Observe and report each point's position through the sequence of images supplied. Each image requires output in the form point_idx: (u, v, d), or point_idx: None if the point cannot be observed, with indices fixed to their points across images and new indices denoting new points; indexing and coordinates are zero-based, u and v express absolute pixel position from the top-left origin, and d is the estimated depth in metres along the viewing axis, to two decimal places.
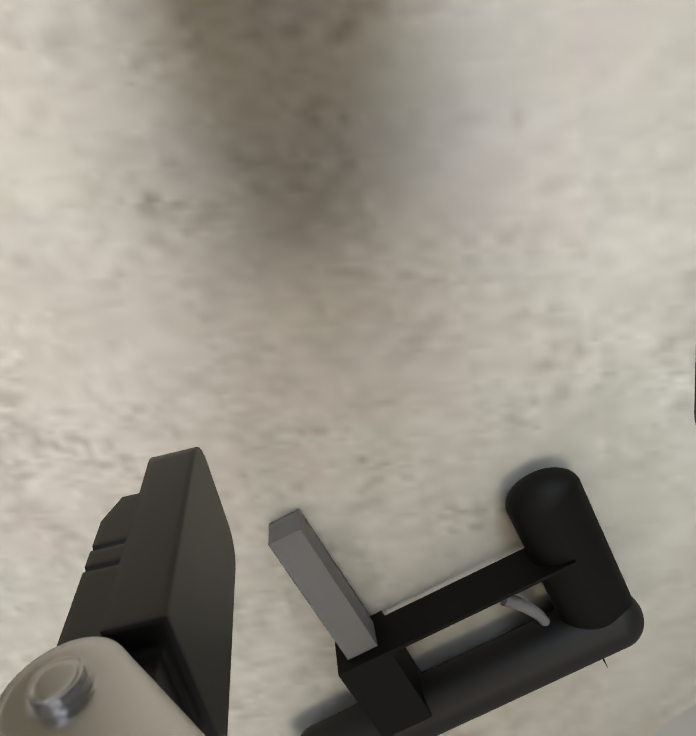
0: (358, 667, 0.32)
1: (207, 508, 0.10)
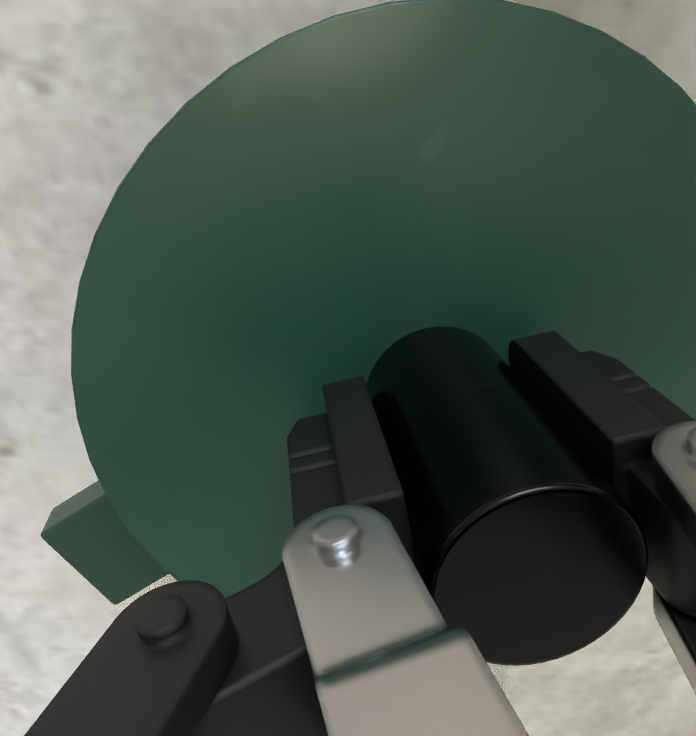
0: None
1: None
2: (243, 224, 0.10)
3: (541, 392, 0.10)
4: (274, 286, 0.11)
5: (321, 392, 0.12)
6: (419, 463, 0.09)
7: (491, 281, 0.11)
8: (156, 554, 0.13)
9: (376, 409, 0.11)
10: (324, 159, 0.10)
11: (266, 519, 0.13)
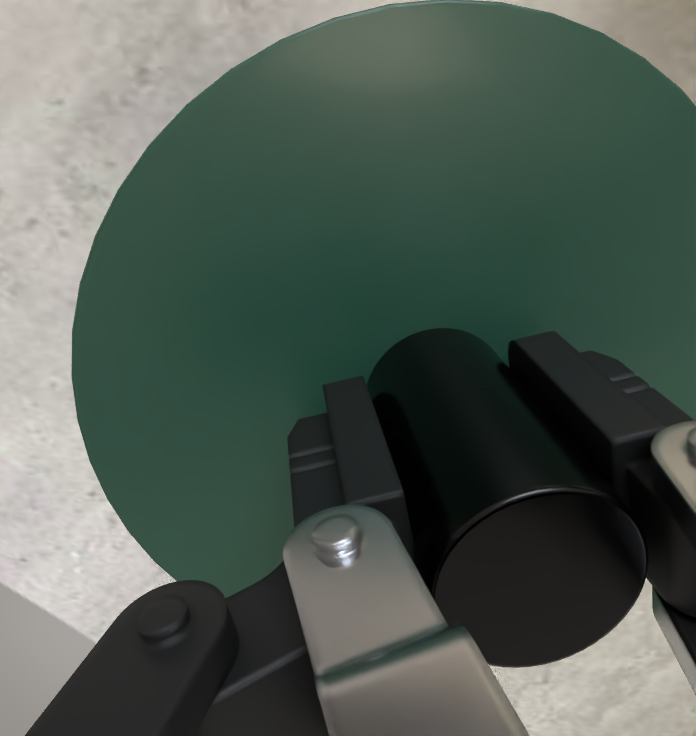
0: None
1: None
2: (243, 225, 0.10)
3: (541, 393, 0.10)
4: (274, 288, 0.11)
5: (321, 394, 0.12)
6: (419, 464, 0.09)
7: (491, 283, 0.11)
8: (156, 556, 0.13)
9: (376, 411, 0.11)
10: (324, 161, 0.10)
11: (266, 520, 0.13)
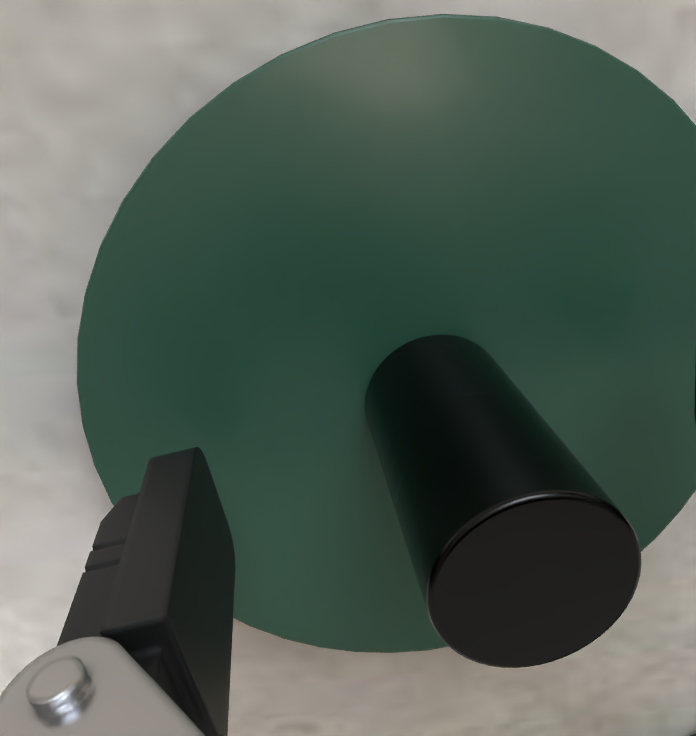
0: None
1: (207, 508, 0.10)
2: (245, 235, 0.11)
3: None
4: (276, 296, 0.11)
5: (322, 399, 0.12)
6: (418, 470, 0.09)
7: (488, 290, 0.12)
8: None
9: (376, 416, 0.11)
10: (324, 172, 0.10)
11: (268, 524, 0.13)
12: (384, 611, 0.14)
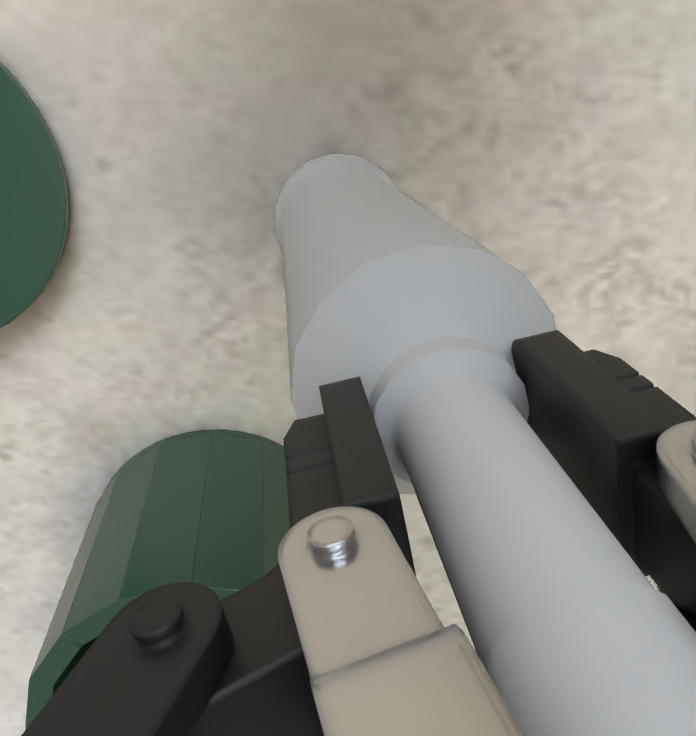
0: None
1: None
2: None
3: (545, 392, 0.10)
4: None
5: None
6: None
7: None
8: None
9: None
10: None
11: None
12: None
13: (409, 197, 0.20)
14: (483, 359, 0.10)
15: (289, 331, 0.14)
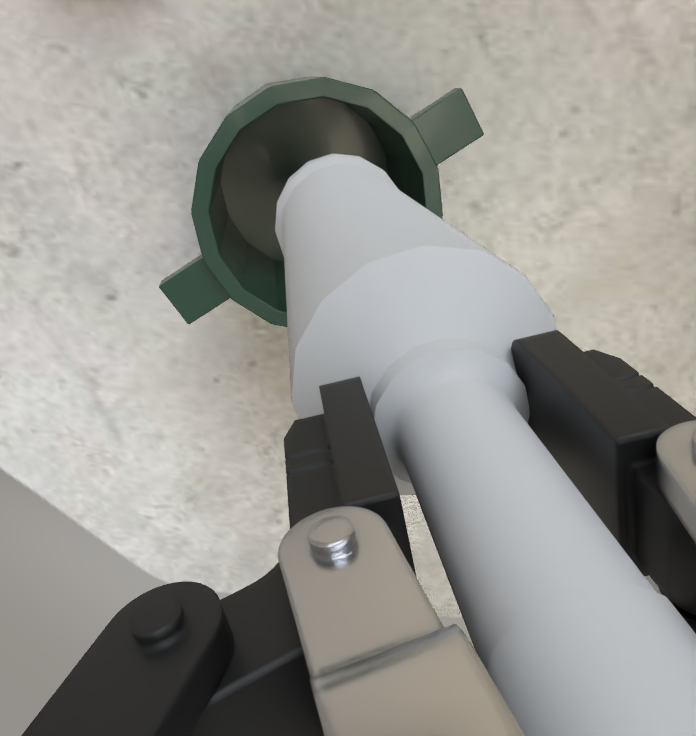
0: None
1: None
2: None
3: (544, 392, 0.10)
4: None
5: None
6: None
7: None
8: None
9: None
10: None
11: None
12: None
13: None
14: (484, 361, 0.10)
15: (289, 332, 0.14)
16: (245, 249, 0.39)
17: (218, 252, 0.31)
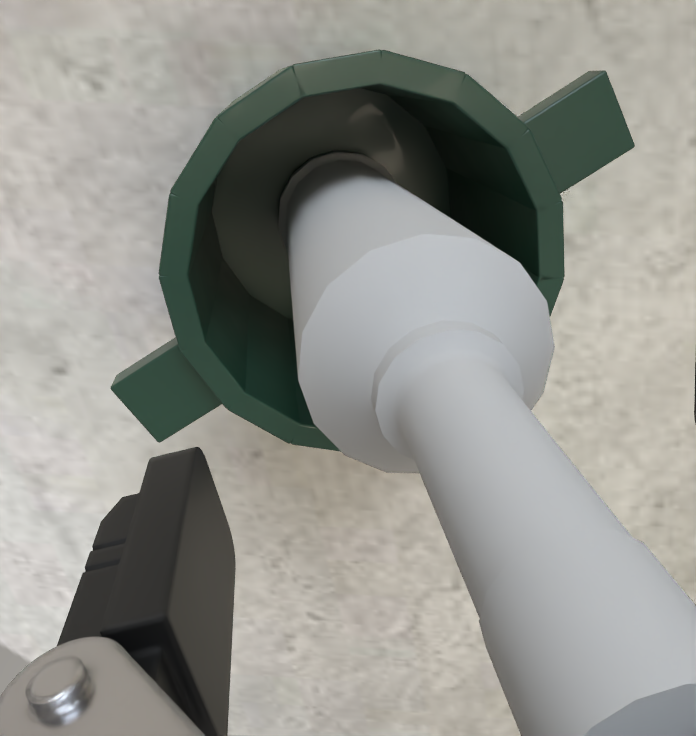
0: None
1: (207, 508, 0.10)
2: None
3: None
4: None
5: None
6: None
7: None
8: None
9: None
10: None
11: None
12: None
13: None
14: (480, 341, 0.11)
15: (295, 319, 0.15)
16: (247, 309, 0.27)
17: (204, 337, 0.19)
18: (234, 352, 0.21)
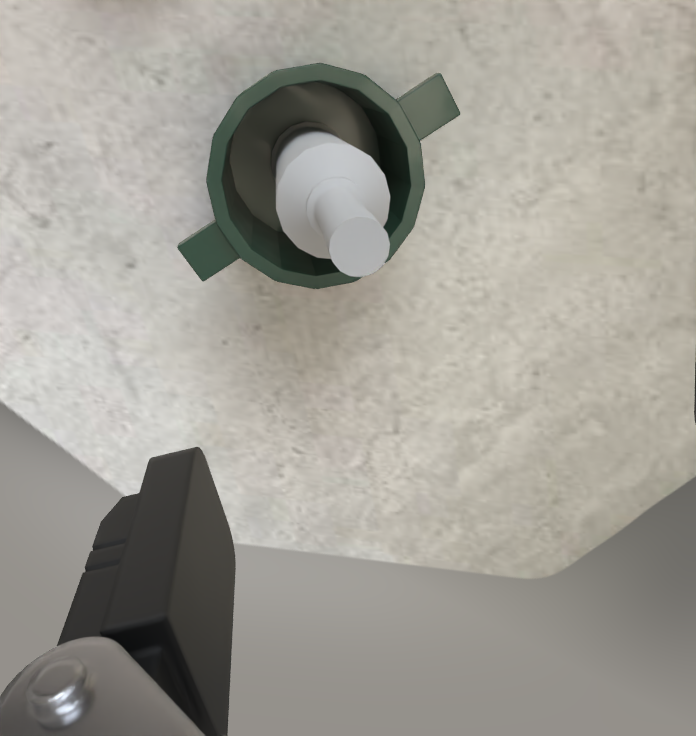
0: None
1: (207, 508, 0.10)
2: None
3: None
4: None
5: None
6: None
7: None
8: None
9: None
10: None
11: None
12: None
13: None
14: (347, 182, 0.28)
15: (276, 192, 0.32)
16: (251, 220, 0.44)
17: (229, 216, 0.36)
18: (245, 231, 0.38)
